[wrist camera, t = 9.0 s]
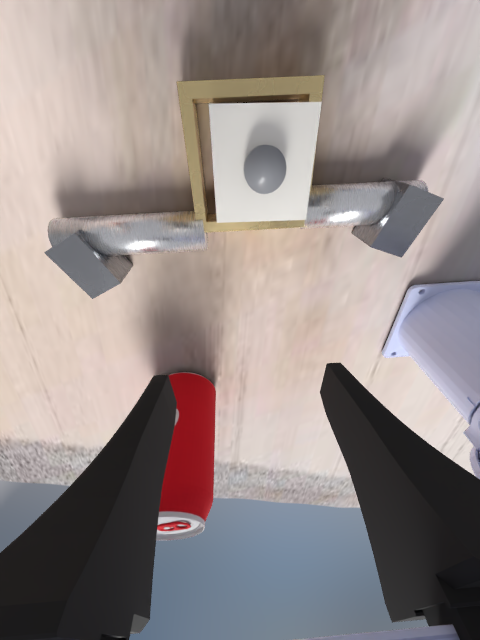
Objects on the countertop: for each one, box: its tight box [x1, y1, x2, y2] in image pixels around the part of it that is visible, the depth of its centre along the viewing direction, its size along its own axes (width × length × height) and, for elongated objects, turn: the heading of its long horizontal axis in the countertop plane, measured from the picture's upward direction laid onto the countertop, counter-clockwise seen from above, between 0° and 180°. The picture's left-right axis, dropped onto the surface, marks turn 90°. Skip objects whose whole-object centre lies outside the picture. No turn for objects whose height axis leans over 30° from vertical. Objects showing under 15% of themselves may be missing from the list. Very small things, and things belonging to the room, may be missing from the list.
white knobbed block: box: [209, 102, 322, 223], centre depth 12 cm, size 4×4×7 cm
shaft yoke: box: [45, 75, 443, 299], centre depth 15 cm, size 23×10×3 cm, turn 92°
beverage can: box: [156, 372, 216, 540], centre depth 22 cm, size 6×6×12 cm
